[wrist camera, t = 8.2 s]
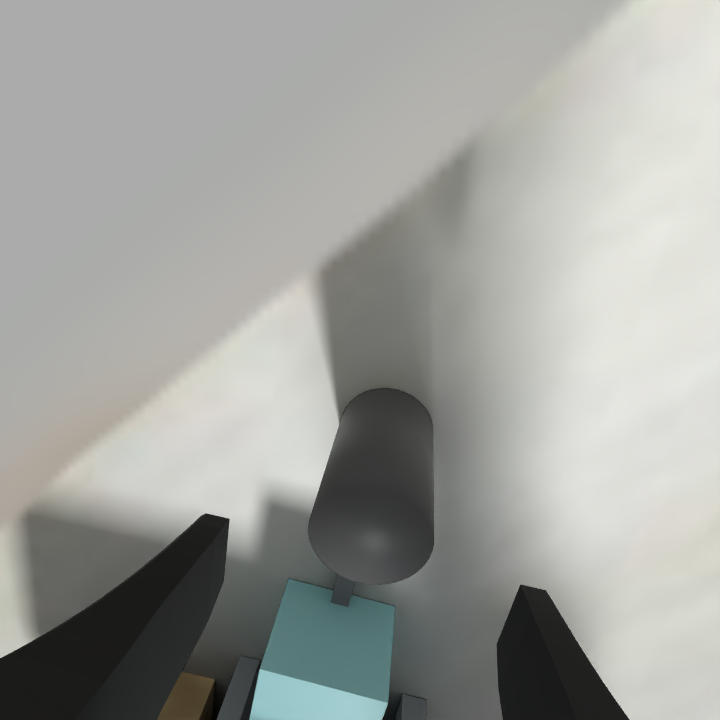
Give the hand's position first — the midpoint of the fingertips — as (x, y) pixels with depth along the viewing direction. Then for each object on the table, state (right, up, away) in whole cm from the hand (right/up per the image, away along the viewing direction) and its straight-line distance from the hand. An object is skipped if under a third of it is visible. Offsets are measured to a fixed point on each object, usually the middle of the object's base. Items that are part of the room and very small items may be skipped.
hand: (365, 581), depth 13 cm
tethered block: (0, -3, +10) cm, 10 cm away
